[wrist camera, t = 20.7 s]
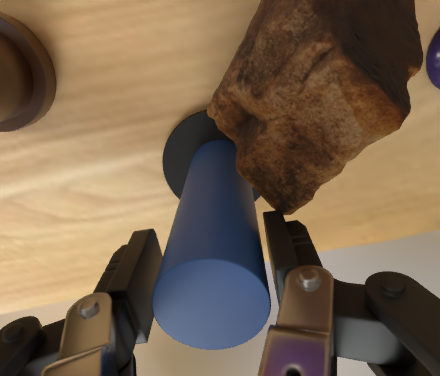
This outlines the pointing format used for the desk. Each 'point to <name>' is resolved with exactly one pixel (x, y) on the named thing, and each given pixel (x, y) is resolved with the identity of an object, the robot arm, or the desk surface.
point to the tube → (213, 258)
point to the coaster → (189, 148)
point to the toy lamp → (434, 60)
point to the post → (23, 76)
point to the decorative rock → (315, 90)
